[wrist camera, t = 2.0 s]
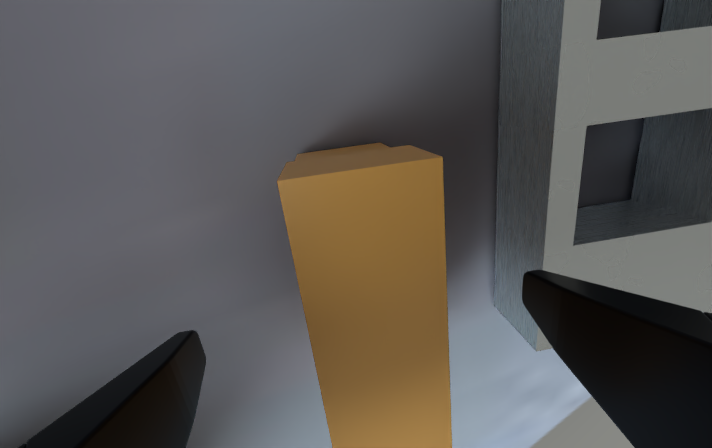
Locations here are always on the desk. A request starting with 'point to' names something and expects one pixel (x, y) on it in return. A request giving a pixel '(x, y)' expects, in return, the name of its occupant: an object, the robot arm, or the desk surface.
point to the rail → (566, 148)
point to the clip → (374, 290)
